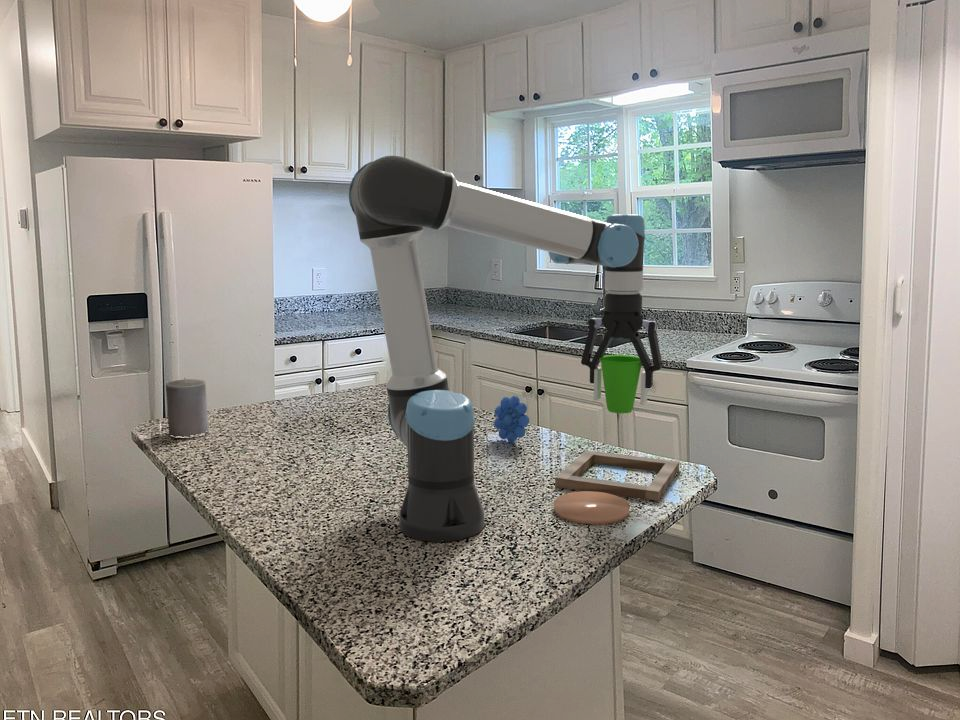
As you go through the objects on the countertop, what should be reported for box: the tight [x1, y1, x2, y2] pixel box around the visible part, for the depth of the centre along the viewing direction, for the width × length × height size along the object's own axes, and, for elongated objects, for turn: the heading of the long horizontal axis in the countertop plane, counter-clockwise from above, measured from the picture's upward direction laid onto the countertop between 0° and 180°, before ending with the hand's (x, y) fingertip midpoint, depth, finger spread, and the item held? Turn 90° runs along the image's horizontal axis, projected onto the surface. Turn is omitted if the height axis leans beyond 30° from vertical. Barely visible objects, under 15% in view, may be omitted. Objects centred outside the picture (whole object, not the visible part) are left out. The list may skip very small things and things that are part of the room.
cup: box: [599, 354, 643, 414], centre depth 157 cm, size 9×9×11 cm
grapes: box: [493, 395, 530, 444], centre depth 188 cm, size 12×7×12 cm, turn 42°
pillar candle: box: [165, 377, 209, 436], centre depth 197 cm, size 10×10×15 cm
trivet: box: [553, 490, 630, 525], centre depth 143 cm, size 14×14×1 cm
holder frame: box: [554, 450, 680, 502], centre depth 161 cm, size 21×21×2 cm
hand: (620, 401), depth 158 cm, fingers closed on cup, 9 cm apart
